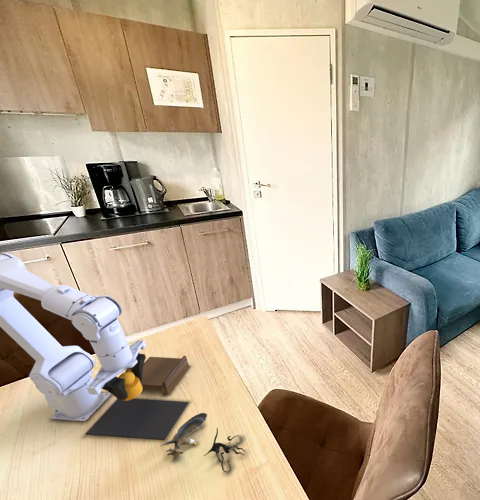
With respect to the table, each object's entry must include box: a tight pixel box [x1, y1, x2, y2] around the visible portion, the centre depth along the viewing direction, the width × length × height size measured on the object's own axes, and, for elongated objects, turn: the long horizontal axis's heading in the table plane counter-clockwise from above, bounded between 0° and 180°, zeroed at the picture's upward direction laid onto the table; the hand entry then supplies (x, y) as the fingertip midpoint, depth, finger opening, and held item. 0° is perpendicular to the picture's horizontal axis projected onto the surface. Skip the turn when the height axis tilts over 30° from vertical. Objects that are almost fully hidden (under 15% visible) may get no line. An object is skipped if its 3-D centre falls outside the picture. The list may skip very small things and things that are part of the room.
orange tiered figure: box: [117, 369, 144, 401], centre depth 69 cm, size 4×4×7 cm
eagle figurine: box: [159, 412, 208, 460], centre depth 67 cm, size 8×7×9 cm
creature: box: [203, 427, 246, 473], centre depth 64 cm, size 8×5×8 cm
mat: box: [85, 398, 189, 441], centre depth 73 cm, size 20×10×1 cm, turn 86°
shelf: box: [141, 355, 190, 396], centre depth 84 cm, size 12×10×5 cm
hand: (130, 389), depth 70 cm, fingers closed on orange tiered figure, 4 cm apart
